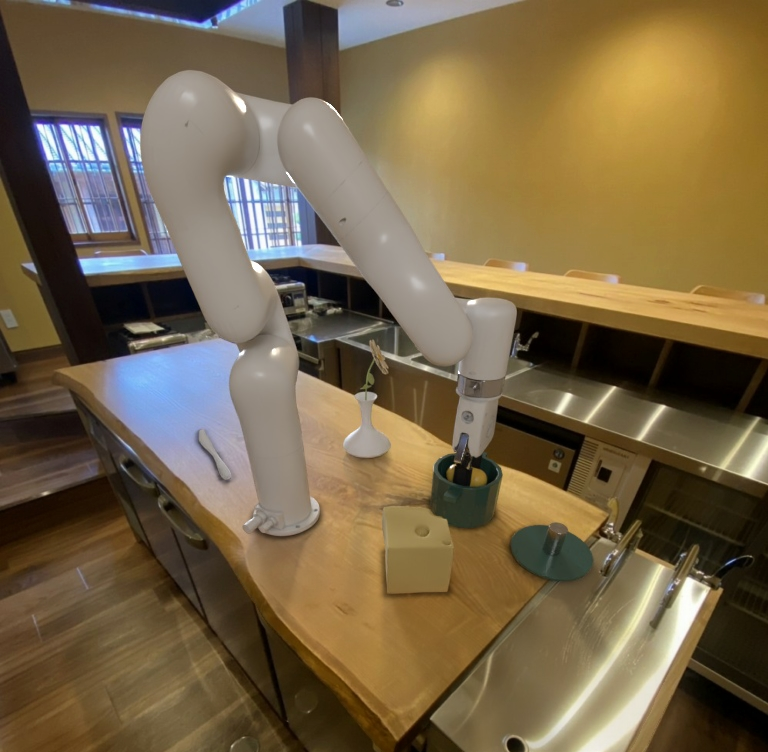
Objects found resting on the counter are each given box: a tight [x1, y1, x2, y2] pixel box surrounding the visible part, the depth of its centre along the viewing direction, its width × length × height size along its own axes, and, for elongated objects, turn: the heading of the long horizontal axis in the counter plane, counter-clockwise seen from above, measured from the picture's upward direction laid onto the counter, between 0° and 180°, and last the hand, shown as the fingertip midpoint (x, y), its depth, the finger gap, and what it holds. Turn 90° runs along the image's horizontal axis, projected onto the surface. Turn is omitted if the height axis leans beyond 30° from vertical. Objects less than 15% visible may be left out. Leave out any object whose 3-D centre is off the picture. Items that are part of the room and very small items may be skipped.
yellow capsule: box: [446, 464, 487, 487], centre depth 80 cm, size 8×4×4 cm, turn 62°
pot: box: [429, 451, 504, 529], centre depth 82 cm, size 13×18×9 cm
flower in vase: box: [342, 339, 392, 459], centre depth 95 cm, size 13×11×25 cm
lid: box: [509, 522, 594, 582], centre depth 72 cm, size 14×14×6 cm
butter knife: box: [198, 428, 232, 480], centre depth 100 cm, size 1×27×3 cm
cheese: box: [381, 505, 455, 595], centre depth 67 cm, size 10×11×10 cm
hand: (466, 476), depth 80 cm, fingers open, 4 cm apart
